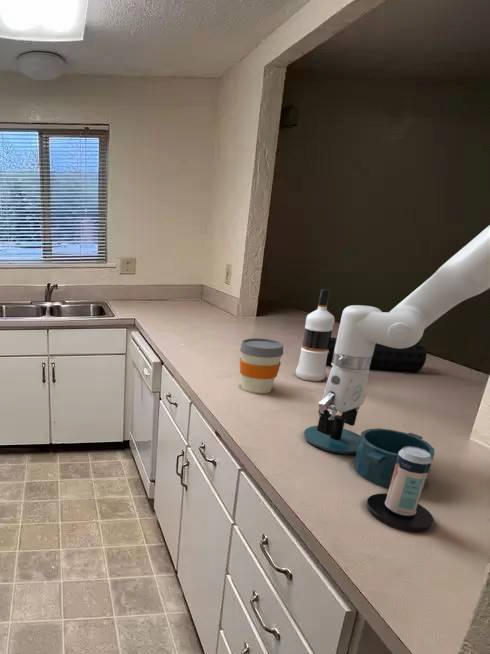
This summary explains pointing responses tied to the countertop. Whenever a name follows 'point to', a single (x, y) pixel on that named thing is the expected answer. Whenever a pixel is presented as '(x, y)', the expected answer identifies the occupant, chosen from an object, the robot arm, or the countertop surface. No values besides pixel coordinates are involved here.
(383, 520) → the black plate
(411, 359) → the roller
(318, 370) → the vodka
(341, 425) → the lid
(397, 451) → the pot
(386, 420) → the countertop surface
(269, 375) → the reusable coffee cup
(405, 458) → the beer can
